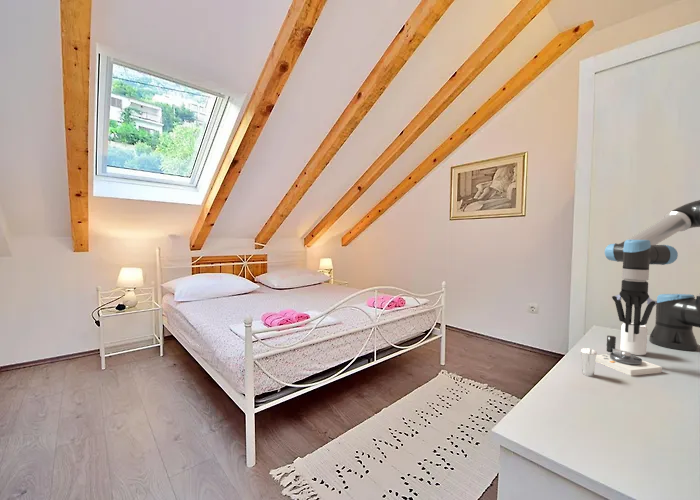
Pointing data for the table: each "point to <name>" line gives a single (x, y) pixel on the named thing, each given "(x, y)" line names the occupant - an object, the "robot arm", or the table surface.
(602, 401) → the table surface
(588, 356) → the milkshake
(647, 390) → the table surface
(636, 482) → the table surface
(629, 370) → the dial board
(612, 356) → the dial
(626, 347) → the beverage can
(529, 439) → the table surface
